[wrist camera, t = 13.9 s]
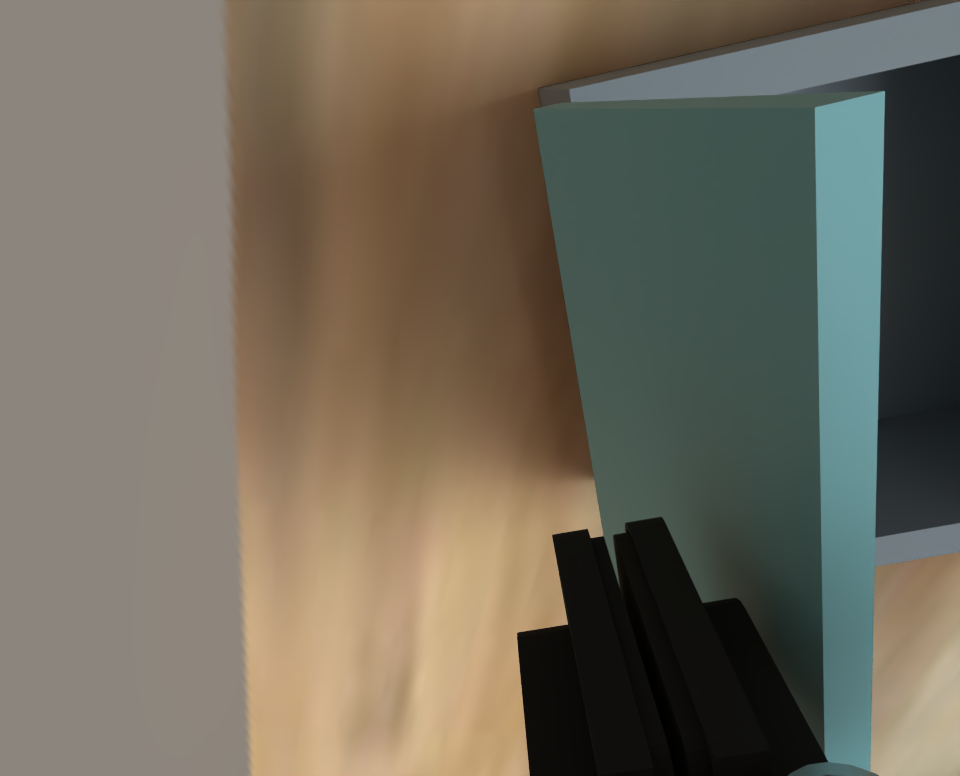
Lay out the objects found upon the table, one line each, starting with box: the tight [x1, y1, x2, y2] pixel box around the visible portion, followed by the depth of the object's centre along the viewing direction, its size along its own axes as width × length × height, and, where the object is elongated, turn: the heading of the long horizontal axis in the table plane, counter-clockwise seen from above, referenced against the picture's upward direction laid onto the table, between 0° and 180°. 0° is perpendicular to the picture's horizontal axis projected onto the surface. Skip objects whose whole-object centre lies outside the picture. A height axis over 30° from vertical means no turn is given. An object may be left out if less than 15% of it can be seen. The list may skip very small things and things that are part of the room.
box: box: [538, 0, 960, 567], centre depth 20 cm, size 14×20×7 cm
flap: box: [533, 91, 885, 771], centre depth 13 cm, size 14×10×1 cm
